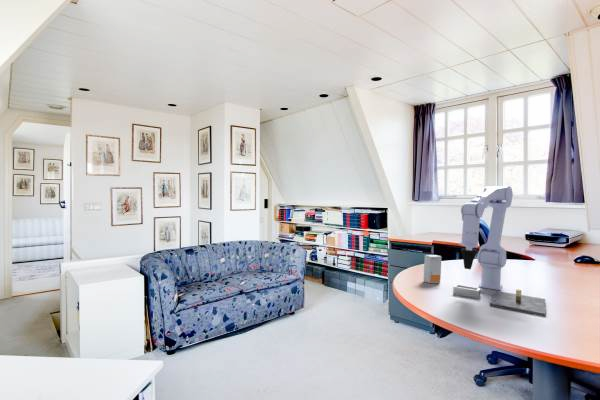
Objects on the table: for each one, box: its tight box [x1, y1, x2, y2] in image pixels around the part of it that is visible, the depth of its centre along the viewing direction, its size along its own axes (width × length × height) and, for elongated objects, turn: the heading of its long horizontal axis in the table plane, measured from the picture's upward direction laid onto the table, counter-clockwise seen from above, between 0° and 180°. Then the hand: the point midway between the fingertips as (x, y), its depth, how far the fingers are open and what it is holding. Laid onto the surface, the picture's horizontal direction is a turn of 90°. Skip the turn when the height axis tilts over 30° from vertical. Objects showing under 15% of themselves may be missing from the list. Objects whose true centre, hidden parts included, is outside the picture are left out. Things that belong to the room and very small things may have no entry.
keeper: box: [489, 289, 547, 318], centre depth 122 cm, size 20×16×5 cm
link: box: [452, 283, 482, 300], centre depth 131 cm, size 9×5×3 cm, turn 54°
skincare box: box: [423, 254, 443, 284], centre depth 149 cm, size 6×4×12 cm
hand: (467, 267), depth 129 cm, fingers open, 7 cm apart
